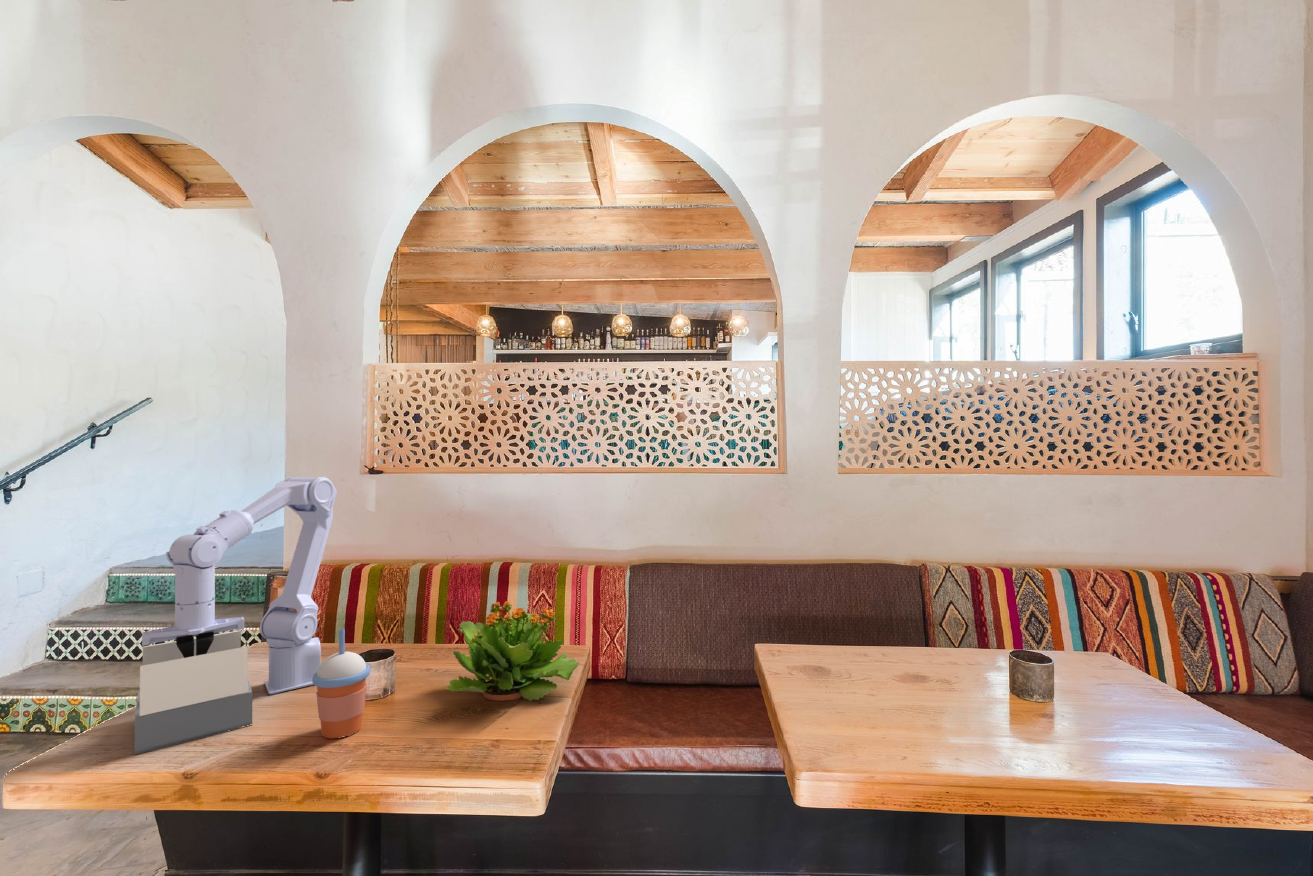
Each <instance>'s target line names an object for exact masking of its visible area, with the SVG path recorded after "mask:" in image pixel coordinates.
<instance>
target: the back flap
mask: <svg viewBox="0 0 1313 876" xmlns="http://www.w3.org/2000/svg"><path fill="white" fill-rule="evenodd" d="M241 638H242V629H241V630H232V631H229V632H228V631H226V632H220V633H214V640H213V642H212V644H211V646H210V648H209V649H208V651H207V654H209V653H214V652H220V651H225V650H230V649H236V648H241V647H242V646H241V645H242V641H241ZM194 656H196V637H194ZM181 658H184V657H183V655H182V653H181V652H180V650H179V649H178V647H177V645H176V640H174V641H173V640H172V641H169V642H168V641H166V642H164V643H163V642H160V643H157V644H150V645H145V646H142V666H143V665H149V664H154V663H160V662H165V661H170V660H176V659H181Z"/></svg>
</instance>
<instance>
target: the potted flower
mask: <svg viewBox="0 0 1313 876" xmlns="http://www.w3.org/2000/svg"><path fill="white" fill-rule="evenodd" d="M512 607H513V605H512V604H511V601H510V600H509V601H505V602H504V603H503V605H502V606H501V605H500V602H499V601H498V602H497V601H496V602H492V604H491V606H490V609H489V612H490V613H488V615H486V616H485V622H486V623H481V622H476V623H475V624H474V622H473V621H470V620H468V621H461V623H459V628H458V629H457V630H458V632H460V633H461V634H463V636H464V641H465V643H466V644H467V645H468V653H469V656H468V655H466V654H465V653H461V652H460V651H456V650H453V652H452V653H453V655H454V657H455V659H456V660H457V661H458V663H459V664H460V665H461V666H462V668H464V669H465V670H466V671H468V672H469V673H471V674H473V675H475V677H473V678H472V679H471V678H470V677H467V676H460V675H459V676H458V679H455V678H454V679H452V680H449V684H448V685H447V686H446V690H447V691H449V692H473V693H481V694H482V696H483V697H484V698H485V699H487V700H489V701H493V702H505V701H508V702H509V701H515V700H518V699H519V700H520V699H521V698H523V699H524V700H526V701H527V700H528V701H530V702H532V701H533V700H534V701H539V700H540V699H542V698H544V696H546V695H548V694H549V693H552V692H554V691H555V690H556V689H557V688H558V685H557V683H554V682H553V681H550V680H549V679H545V678H554V677H558V678H561V679H564V680H566V681H569V680H570V679H571V676H572V674H573V672H574V671H575V670H576V669H577V667H578V666H579V665H580V661H577V659H576V658H568V654H567V653H566V652H564V653H562V654H561V655H560V656H559V657H557V656H558V655H559V654H558V652H559V651H560V649H561V648H562V645H563V643H564V642H563V640H557V639H556V640H555V641H552V640H551V639H550V637H548V638H547V640H546V636H547V632H548V630H549V628H550V624H551V622H552V621H556V617H555V612H553V611H554V609H548V608H544V609H541V610H540V611H539V612H540V613H541V614H540V616H539V614H537V613H536V612H533V613H527V612H526V610H525V609H524V607H517V608H514V609H513V611H512V613H511V614H512V615H511V614H510V611H511V609H512ZM501 611H503V612H506V613H507V614H504V615H503V612H501ZM540 617H542V618H543V619H540ZM543 634H544V635H543ZM545 640H546V641H545ZM556 657H557V658H556ZM554 658H556V659H554Z"/></svg>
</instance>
